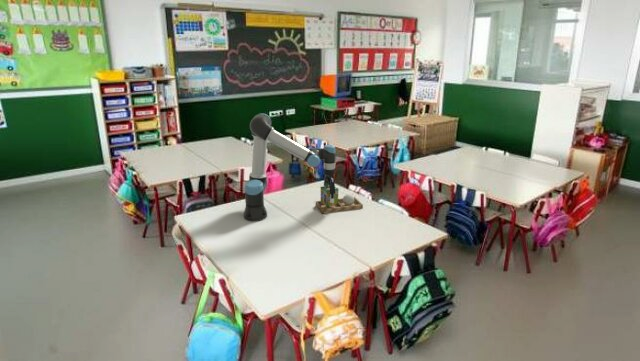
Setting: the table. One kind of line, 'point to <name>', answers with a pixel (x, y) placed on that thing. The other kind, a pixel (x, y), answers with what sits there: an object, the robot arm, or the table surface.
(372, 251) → the table surface
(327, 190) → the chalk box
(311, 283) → the table surface
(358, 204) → the tray
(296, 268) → the table surface
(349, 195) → the grey ball
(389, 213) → the table surface
